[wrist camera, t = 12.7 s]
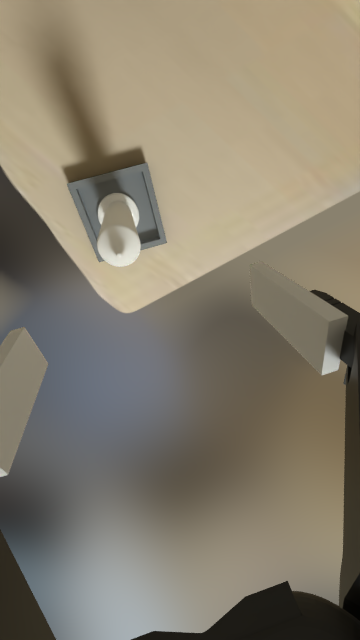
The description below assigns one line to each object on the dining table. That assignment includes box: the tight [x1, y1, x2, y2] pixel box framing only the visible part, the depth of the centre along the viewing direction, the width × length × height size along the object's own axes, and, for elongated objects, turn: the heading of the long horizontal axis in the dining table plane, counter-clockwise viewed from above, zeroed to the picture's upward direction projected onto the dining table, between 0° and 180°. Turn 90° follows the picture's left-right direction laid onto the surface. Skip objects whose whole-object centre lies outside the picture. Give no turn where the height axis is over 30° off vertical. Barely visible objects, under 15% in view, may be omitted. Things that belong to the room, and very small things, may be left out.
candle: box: [97, 193, 141, 267], centre depth 34 cm, size 7×7×25 cm
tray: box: [67, 163, 167, 262], centre depth 44 cm, size 13×13×2 cm
